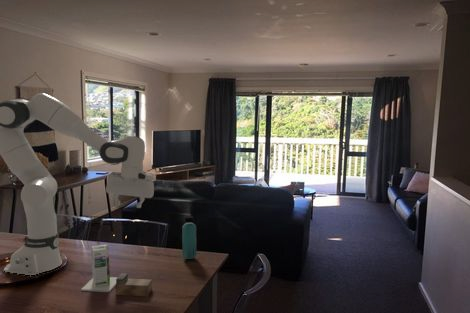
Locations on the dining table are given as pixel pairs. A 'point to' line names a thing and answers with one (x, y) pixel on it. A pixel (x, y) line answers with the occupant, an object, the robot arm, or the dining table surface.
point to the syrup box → (100, 265)
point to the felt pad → (105, 288)
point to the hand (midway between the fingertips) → (128, 206)
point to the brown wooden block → (132, 286)
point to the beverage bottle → (189, 238)
